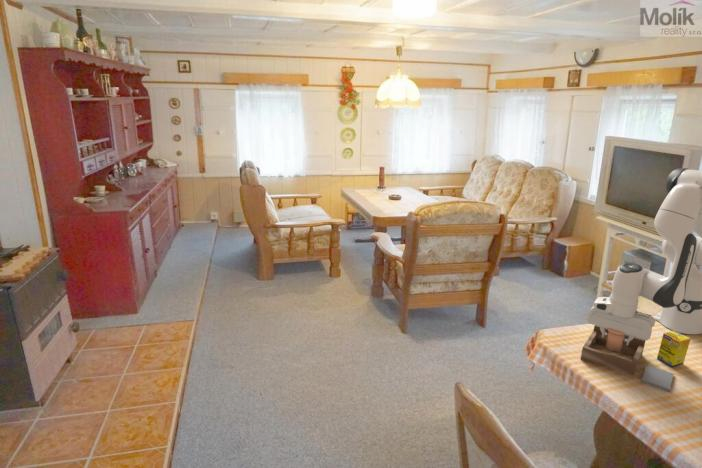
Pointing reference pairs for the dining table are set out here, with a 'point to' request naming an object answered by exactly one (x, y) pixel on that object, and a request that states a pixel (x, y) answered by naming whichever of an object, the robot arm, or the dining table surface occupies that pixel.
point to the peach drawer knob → (615, 340)
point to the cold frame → (610, 360)
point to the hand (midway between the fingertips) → (614, 340)
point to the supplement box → (673, 348)
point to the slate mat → (657, 378)
